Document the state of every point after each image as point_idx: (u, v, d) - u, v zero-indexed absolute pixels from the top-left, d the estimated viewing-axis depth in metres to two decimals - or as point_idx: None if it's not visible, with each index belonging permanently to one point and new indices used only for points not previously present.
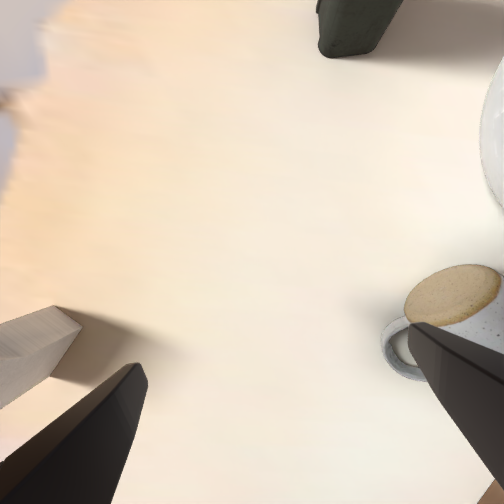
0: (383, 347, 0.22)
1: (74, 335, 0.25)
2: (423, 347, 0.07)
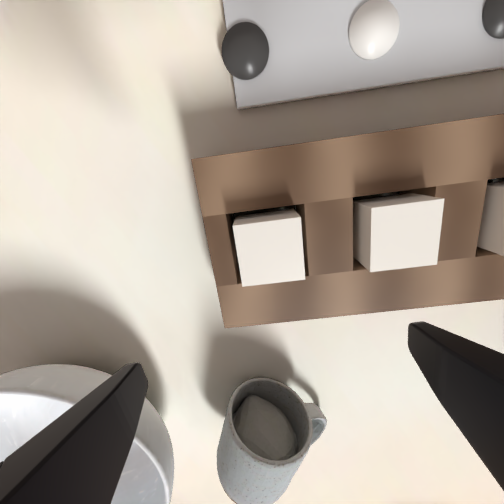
0: (313, 442, 0.26)
1: None
2: (423, 347, 0.07)
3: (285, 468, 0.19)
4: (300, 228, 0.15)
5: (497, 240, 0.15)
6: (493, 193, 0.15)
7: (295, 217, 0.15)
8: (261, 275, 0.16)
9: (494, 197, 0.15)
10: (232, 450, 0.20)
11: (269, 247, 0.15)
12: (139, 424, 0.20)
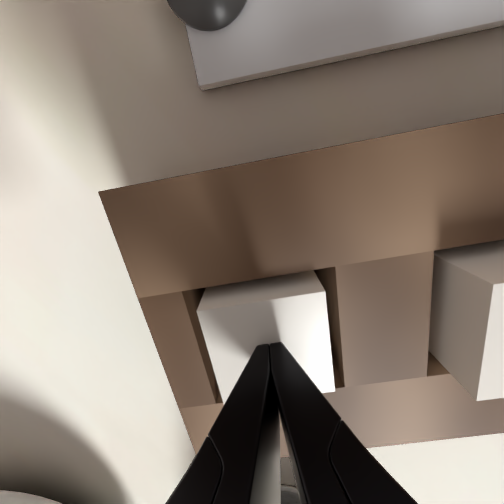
0: None
1: None
2: None
3: None
4: (324, 310, 0.08)
5: None
6: None
7: (314, 291, 0.08)
8: None
9: None
10: None
11: (267, 343, 0.08)
12: None
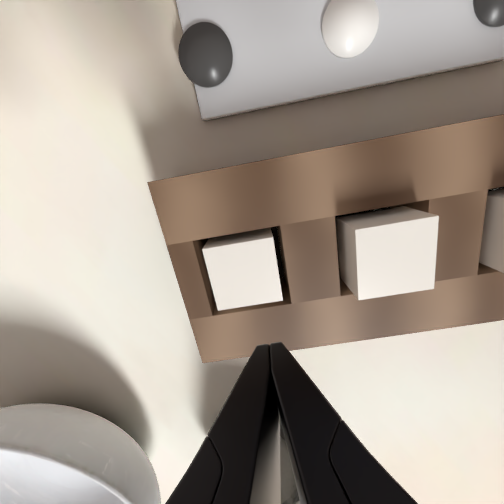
0: None
1: None
2: None
3: None
4: (273, 248, 0.14)
5: (502, 257, 0.13)
6: (495, 204, 0.13)
7: (267, 237, 0.14)
8: (236, 298, 0.15)
9: (496, 209, 0.13)
10: None
11: (242, 269, 0.14)
12: (116, 470, 0.18)
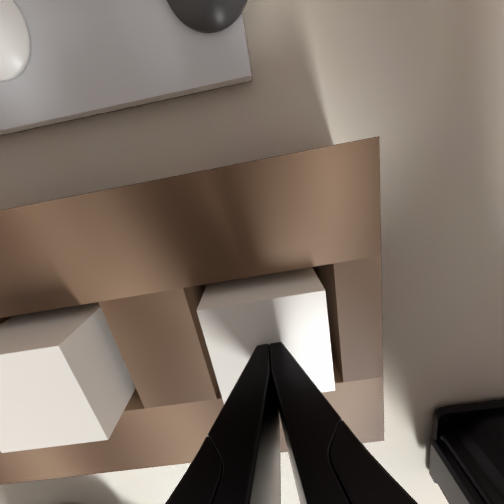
0: None
1: None
2: None
3: None
4: None
5: None
6: None
7: None
8: None
9: None
10: None
11: None
12: None
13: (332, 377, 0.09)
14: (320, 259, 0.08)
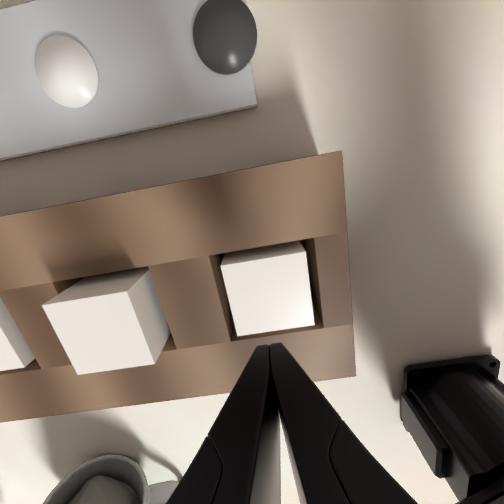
0: None
1: None
2: None
3: None
4: None
5: None
6: None
7: None
8: None
9: None
10: None
11: None
12: None
13: (312, 315, 0.12)
14: (305, 234, 0.11)
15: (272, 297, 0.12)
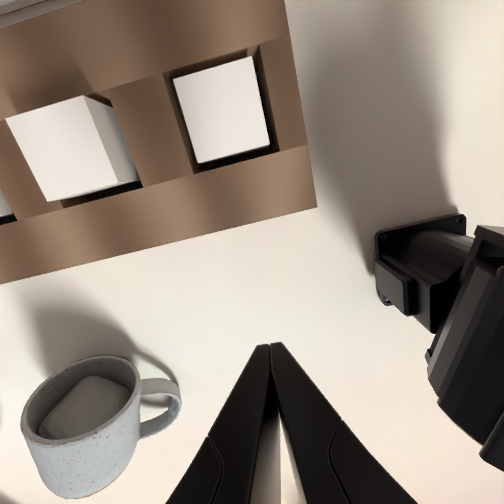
0: (173, 421, 0.24)
1: None
2: None
3: (69, 447, 0.16)
4: None
5: None
6: None
7: None
8: None
9: None
10: None
11: None
12: None
13: (266, 132, 0.13)
14: (250, 41, 0.12)
15: (226, 114, 0.13)
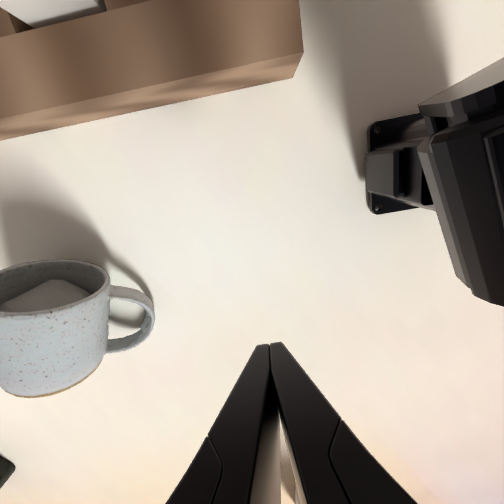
0: (144, 339, 0.22)
1: None
2: None
3: (17, 321, 0.15)
4: None
5: None
6: None
7: None
8: None
9: None
10: None
11: None
12: None
13: None
14: None
15: None
